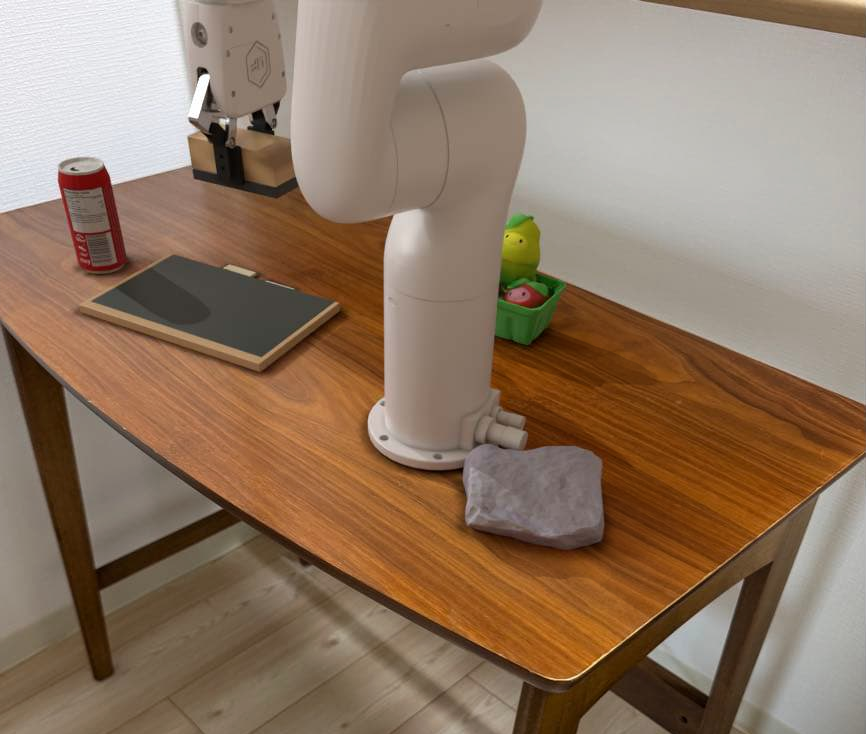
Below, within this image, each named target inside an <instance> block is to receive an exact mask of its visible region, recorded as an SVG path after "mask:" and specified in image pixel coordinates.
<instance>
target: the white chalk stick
mask: <svg viewBox="0 0 866 734" xmlns="http://www.w3.org/2000/svg"><path fill="white" fill-rule="evenodd" d="M265 281H266V282H270V283H273V284H277V285H280V286H284V287H287V288H290V289H294V290H296V288H293V287H290V286H286V285H283V284H279V283H277V282H273V281H269V280H265Z"/></svg>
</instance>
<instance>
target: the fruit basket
mask: <svg viewBox="0 0 866 734" xmlns="http://www.w3.org/2000/svg"><path fill="white" fill-rule="evenodd" d="M534 219H535V217H534V216H533V215H529V214H528V215H526V214H523V213H515V214H513V216H512V217H510V219H509V220H508V223H506V226H505V233H504V240H503V249H502V259H501V270H500V280H499V289H498V301H497V313H496V325H495V336H494V337H498V338H501V339H504V340H510V341H513V342H515V343H518V344H521V345H524V346H529V345H531V343H532V341H534V340H536V339H537V338H538V337H540V335H541V334H542V333H543V331H544V330H545V329H547V328H548V327H549V324H550V323H551V320H552V318H553V315H554V312H555V311H556V308H557V305H558V303H559V301H560V299H561V298H560V297H561V296H562V295H563V293H564V291H565V289H566V287H567V284H566V282H565V281H563V280H560V279H557V278H553V277H550V276H547V275H544V274H540V273H537V270H538V267H539V265H540V261H541V246H540V240H541V230H540V228H539V226H538V225H537V224H536V222H535V221H534Z"/></svg>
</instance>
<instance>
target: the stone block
mask: <svg viewBox="0 0 866 734" xmlns="http://www.w3.org/2000/svg"><path fill="white" fill-rule="evenodd" d="M602 478H603V461H602V459H601V458H600V456H598V455H596V454H595V453H594V451H592V450H588V449H586V448H585V449H584V448H582V447H579V446H576V445H568V446H567V445H551V446H548V445H546V446H541V447H537V448H532V449H526V450H523V451H516V450H513V449H507V448H505V449H504V448H501V447H499V446H498V447H497V446H494V445H492V444H483V445H480V446H478V447H476V448H475V449H473V450H472V451H471V452H470V453H469V455H468V456H467V457H466V459H465V464H464V467H463V471H462V483H463V486H464V490H465V491H464V492H465V495H466V499H467V501H466V504H465V513H464V516H465V524H466V526H467V527H470V528H472V529H475V530H477V531H483V532H486V533H491V534H495V535H499V536H505V537H509V538H510V537H511V538H513V539H516V540H519V541H522V542H525V543H530V544H532V545H533V544H534V545H538V546H544V547H552V548H555V549H557V550H562V551H571V550H574V549H577V548H582V547H586V546H591V545H594V544H597V543H599V542H601V541H602V540H603V537H604V536H603V535H604V529H605V517H604V515H605V514H604V503H603V502H604V501H603V492H602Z"/></svg>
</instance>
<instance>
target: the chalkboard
mask: <svg viewBox="0 0 866 734" xmlns="http://www.w3.org/2000/svg"><path fill="white" fill-rule="evenodd" d="M266 281H267V280H264V279H259V278H257V277H249V276H246V275H243V274H239V273H236V272H232V271H229V270H226V269H223V268H222V267H219V266H215V265H211V264H208V263H205V262H201V261H198V260H195V259H191V258H187V257H185V256H180V255H177V254H174V253H168V254H166V255H164V256H162V257H160V258H158V259H157V260H155V261H154V262H152V263H150V264H148V265H146V266H144V267H143V268H141V269H139V270H137V271H136V272H134V273H132V274H130V275H129V276H127V277H125V278H123V279H122V280H120V281H118V282H116V283H114V284H113V285H111V286H109V287H107V288H106V289H104V290H102V291H100V292H98V293H97V294H94V295H93V296H91V297H89V298H87V299H86V300H84V301H82V302H81V303H79V304H78V306H79V310H80V313H82V314H85V315H87V316H90V317H94V318H97V319H100V320H102V321H105V322H108V323H112V324H115V325H118V326H121V327H124V328H126V329H130V330H133V331H136V332H139V333H141V334H144V335H148V336H151V337H153V338H157V339H160V340H163V341H165V342H168V343H171V344H174V345H177V346H181V347H182V348H186V349H189V350H192V351H196V352H199V353H201V354H204V355H207V356H210V357H213V358H216V359H219V360H222V361H225V362H229V363H231V364H234V365H238V366H241V367H243V368H246V369H249V370H252V371H255V372H258V373H261V372H263V371H264V370H265V369H267V368H268V367H269V366H270V365H272V364H273V363H275V362H276V360H278V359H279V358H280V357H281V358H282V356H283V355H285V354H286V353H287V352H289V351H290V350H291V349H293V348H294V347H295V346H296V345H298V344H299V343H300V342H302V341H303V340H305V339H306V338H307V337H308V336H309V335H310V334H312V333H313V332H315V331H316V330H317V329H319V328H320V327H321V326H322V325H324V324H325V323H326V322H327V321H329V320H330V319H332V317H334V316H335V315H337V313H339V312H340V311H341V309H340V306H341V305H340V304H341V303H340V302H338V301H334V300H331V299H328V298H324V297H321V296H317V295H313V294H311V293H307V292H305V291H301V290H297V289H295V288H293V289H290V288H291V287H290V288H287V287H288V286H287V287H284V286H285V285H283V286H280V285H281V284H280V285H277V284H278V283H276V284H273V283H274V282H273V283H270V282H271V281H270V282H266ZM294 289H295V290H294Z"/></svg>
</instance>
